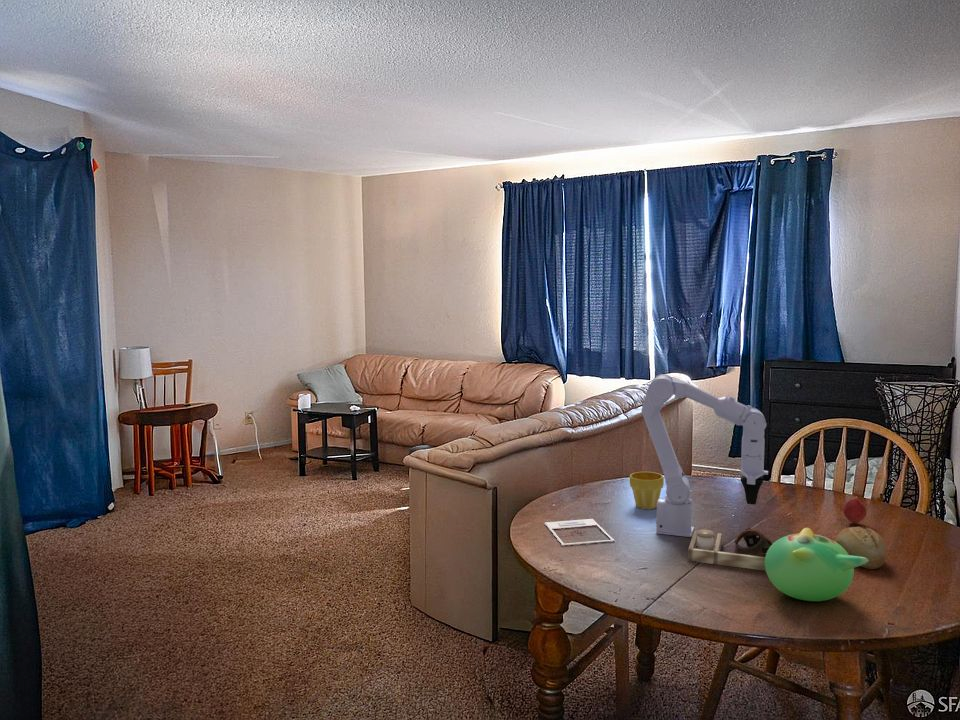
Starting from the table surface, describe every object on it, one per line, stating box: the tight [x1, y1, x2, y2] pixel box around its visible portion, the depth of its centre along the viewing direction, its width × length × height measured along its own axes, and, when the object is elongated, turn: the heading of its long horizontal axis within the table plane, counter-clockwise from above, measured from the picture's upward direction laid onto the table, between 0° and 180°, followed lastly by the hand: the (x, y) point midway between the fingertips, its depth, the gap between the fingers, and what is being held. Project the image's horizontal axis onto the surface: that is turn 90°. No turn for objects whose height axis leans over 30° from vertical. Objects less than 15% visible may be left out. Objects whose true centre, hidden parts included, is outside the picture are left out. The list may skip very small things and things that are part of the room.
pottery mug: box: [733, 527, 773, 557], centre depth 181 cm, size 12×10×8 cm
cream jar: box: [696, 529, 715, 551], centre depth 184 cm, size 4×4×6 cm
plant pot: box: [629, 471, 665, 510], centre depth 223 cm, size 10×10×10 cm
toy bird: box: [764, 527, 868, 602], centre depth 157 cm, size 18×17×15 cm
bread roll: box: [835, 526, 887, 570], centre depth 178 cm, size 10×15×8 cm, turn 1°
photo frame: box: [544, 518, 615, 547], centre depth 201 cm, size 15×1×18 cm
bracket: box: [687, 529, 766, 572], centre depth 182 cm, size 22×14×3 cm, turn 68°
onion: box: [842, 496, 868, 525], centre depth 203 cm, size 6×6×8 cm
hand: (751, 503), depth 194 cm, fingers closed
